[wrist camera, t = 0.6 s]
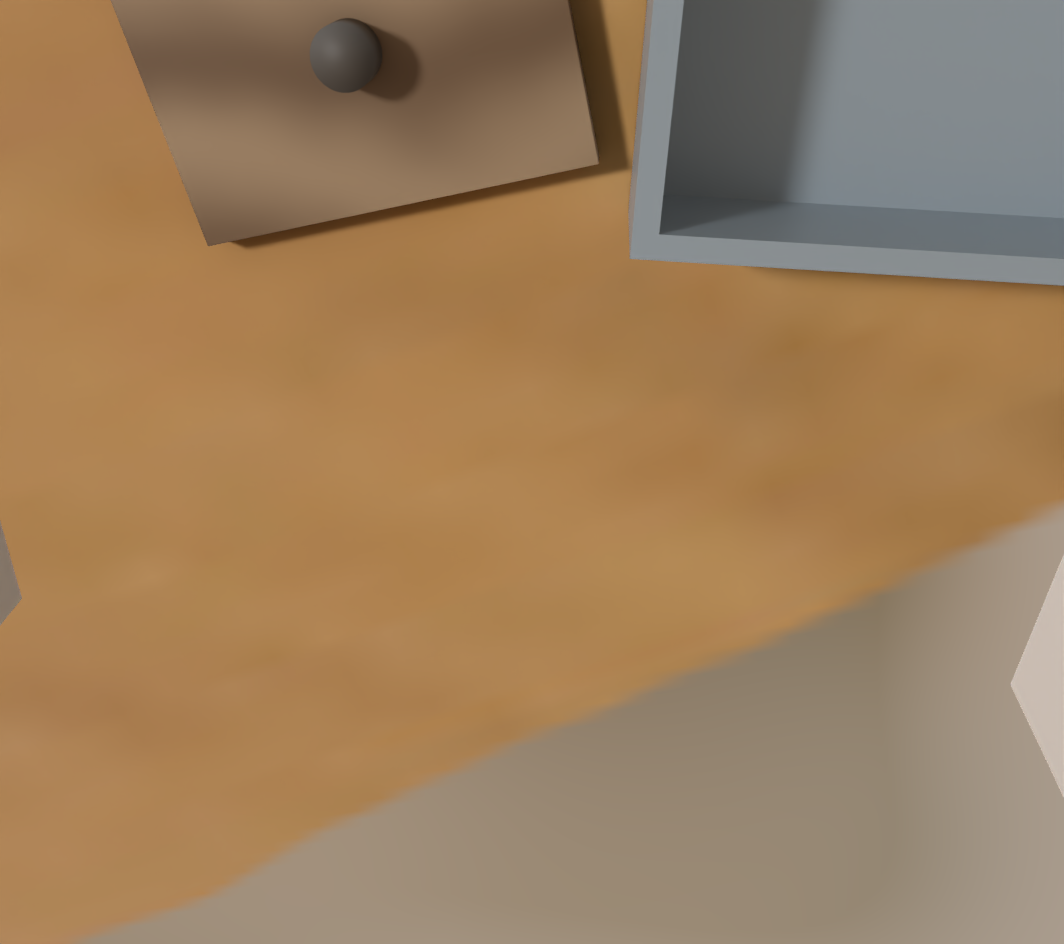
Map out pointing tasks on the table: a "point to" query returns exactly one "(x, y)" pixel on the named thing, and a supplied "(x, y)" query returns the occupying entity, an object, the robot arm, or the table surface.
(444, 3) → the lid
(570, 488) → the table surface
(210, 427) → the table surface
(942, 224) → the bin
